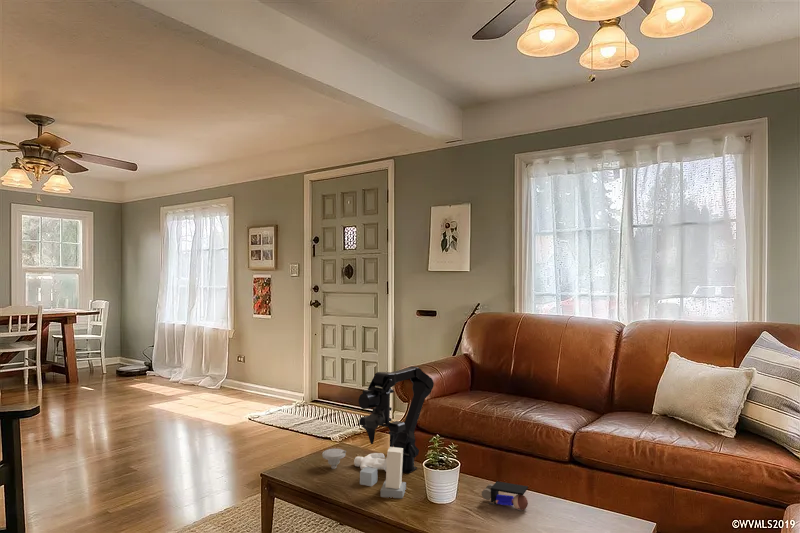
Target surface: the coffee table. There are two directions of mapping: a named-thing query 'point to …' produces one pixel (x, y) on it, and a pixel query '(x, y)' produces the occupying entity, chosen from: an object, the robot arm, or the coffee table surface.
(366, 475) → the cube
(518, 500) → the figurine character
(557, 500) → the coffee table surface
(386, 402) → the robot arm
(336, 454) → the showerhead
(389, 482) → the pillar
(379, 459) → the figure
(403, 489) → the plinth
